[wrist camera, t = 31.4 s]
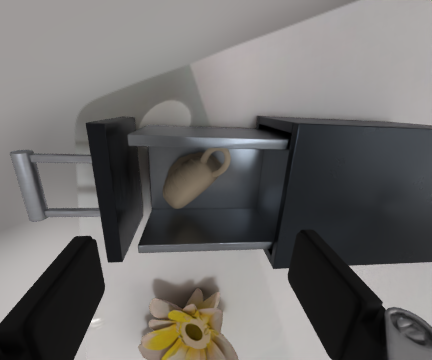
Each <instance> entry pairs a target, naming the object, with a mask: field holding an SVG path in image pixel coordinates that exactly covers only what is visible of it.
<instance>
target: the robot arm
mask: <svg viewBox="0 0 432 360" xmlns="http://www.w3.org/2000/svg"><path fill="white" fill-rule="evenodd" d="M288 280H289V283H290V285H291V287H292V289H293V291H294V292H295V294H296V296H297V298H298V300H299V302H300V304H301V305H302V307H303V309H304V311H305V313H306V315H307V317H308V319H309V320H310V322H311V324H312V326H313V328H314V330H315V332H316V333H317V335H318V337H319V339H320V341H321V343H322V345H323V346H324V348H325V350H326V352H327V354H328V356H329V357H330V358H331V359H332V360H432V326H430V325H429V324H428V323H427V322H426V321H425V320H423V319H422V318H420V317H419V316H417V315H415V314H413V313H411V312H410V311H407V310H404V309H401V308H396V307H392V308H388V309H387V310H386V309H385V308H384V307H383V306H382V303H383V302H382V301H381V300H380V299H379V298H378V296H377V295H376V294H375V293H374V292H373V291H372V290H371V289H370V288H369V287H368V286H367V285H366V284H365V283H364V282H363V281H362V280H361V279H360V278H359V276H358V275H357V274H356V273H355V272H354V271H353V270H352V269H351V268H350V267H349V266H348V265H347V264H346V263H345V262H344V261H343V260H342V259H341V258H340V256H339V255H338V254H337V253H336V252H335V251H334V250H333V249H332V248H331V247H330V246H329V245H328V244H327V243H326V242H325V241H324V240H323V239H322V238H321V236H320V235H319V234H318V233H317V232H316V231H315V230H313V229H309V230H301V231H300V232H299V233H297V235H296V239H295V244H294V248H293V253H292V258H291V262H290V267H289V272H288ZM104 290H105V283H104V278H103V273H102V268H101V263H100V258H99V252H98V247H97V242H96V240H95V239H92V237H91V236H76V237H74V238H73V239H72V240H71V241H70V243H69V244H68V245H67V246H66V247H65V248H64V250H63V251H62V252H61V253H60V254H59V255H58V257H57V258H56V259H55V260H54V261H53V262H52V264H51V265H50V266H49V267H48V268H47V269H46V271H45V272H44V273H43V274H42V275H41V276H40V277H39V279H38V280H37V281H36V282H35V283H34V284H33V286H32V287H31V288H30V289H29V290H28V291H27V293H26V294H25V295H24V296H23V297H22V298H21V300H20V301H19V302H18V303H17V304H16V305H15V307H14V308H13V309H12V310H11V311H10V312H9V314H8V315H7V316H6V317H5V318H4V319H3V321H2V322H1V323H0V360H74V358H75V355H76V353H77V351H78V349H79V347H80V344H81V342H82V340H83V338H84V336H85V333H86V331H87V329H88V327H89V325H90V323H91V320H92V318H93V316H94V314H95V312H96V309H97V307H98V305H99V303H100V301H101V298H102V296H103V294H104Z"/></svg>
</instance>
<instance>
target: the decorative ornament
mask: <svg viewBox="0 0 432 360" xmlns="http://www.w3.org/2000/svg"><path fill="white" fill-rule="evenodd" d="M215 151H222V152H223V153H224V156H225V160H224V163H223V164H222V163H221V162H220V161H219V160H218V159H217V158H215V157H213V156H212V155H211V154H212V153H213V152H215ZM230 161H231V155H230V152H229V150H228V149H227V148H208V149H207V150H206V151H205V152H204V153H202V152H198V153H196V154H189V155H187V156H184V157H181V158H179V159H178V160H177V161H176V163H174V164H173V165H172V166H171V167H170V169H169V171H168V176H167V178H166V179H165V184H164V185H163V197H164V199H165V201H166V202H167V203H168V204H169V205H170V206H171V207H173V208H175V209H179V208H182V207H184V206H186V205H187V204H189V203H190V202H191V201H193V200H194V199H195V198H196V197H198V196H199V195H200V194H201V193H202V192H203V191H205V190H206V189H207V188H208V187H209V186H210V185H211V184H212V183H213V182H214V181H215V180H216V179H217V178H218V177H219V175H221V174H223V173H224V172H225V171H226V170H227V168H228V167H229V165H230Z"/></svg>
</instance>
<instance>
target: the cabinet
mask: <svg viewBox="0 0 432 360" xmlns="http://www.w3.org/2000/svg"><path fill="white" fill-rule="evenodd" d="M256 129H271V130H274V131H277V132H280V133H283V134H286V135H289V136H292V137H291V143H290V148H289V154H288V160H287V166H286V172H285V178H284V184H283V190H282V196H281V202H280V208H279V214H278V220H277V226H276V232H275V238H274V244H273V249H264V251H265V254H266V256H267V258H268V260H269V262H270V263H271V265H272V267H273V269H281V268H289V267H290V262H291V258H292V253H293V248H294V244H295V239H296V235H297V233H299V232H300V231H301V230H309V229H313V230H315V231H316V232H317V233H318V234H319V235H320V236H321V238H322V239H323V240H324V241H325V242H326V243H327V244H328V245H329V246H330V247H331V248H332V249H333V250H334V251H335V252H336V253H337V254H338V255H339V256H340V258H341V259H342V260H343V261H344V262H345V263H346V264H347V265H348V266H350V265H373V264H396V263H419V262H432V126H431V125H420V124H408V123H396V122H380V121H358V120H336V119H314V118H292V117H269V116H258V118H257V127H256Z"/></svg>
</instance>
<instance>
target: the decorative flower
mask: <svg viewBox="0 0 432 360" xmlns="http://www.w3.org/2000/svg"><path fill="white" fill-rule="evenodd" d="M219 299H220V293H219V292H216V293H215V294H213V295H212V296H210V297H209V298H207V299H206V300H204V301H203V293H202V291H201V290H200V289H199V288H196V290H195V291H194V293H193V294H192V296H191V297H190V299H189V301H188V302H187V304H186V307H185V308H184V309H183V308H180V307H179V306H177V305H175V304H173V303H171V302H168V301H166V300H161V299H157V298H153V299H152V301H151V303H150V306H149V309H150V312H151V314H152V315H153V316H154V317H157V318H160V319H165V320H155V319H152V320H151V321H149V327H150V328H151V329H153V330H155V331H153V332H150V333H148V334H146V335H144V336H142V339H141V344H140V345H139V346H138V348H139V351H140V353H141V354H142V356H143V357H144V358H146V359H147V360H238V356H237V354H236V352H235V350H234V348H233V347H232V345H231V344H230V342H229V341H228V340H227V339H226V338H225V337H224V335H223V334H221V333H220V332H221V326H222V317H223V311H222V310H220V309H217V306H218V304H219ZM170 319H171V320H170ZM168 320H170V321H168Z"/></svg>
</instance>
